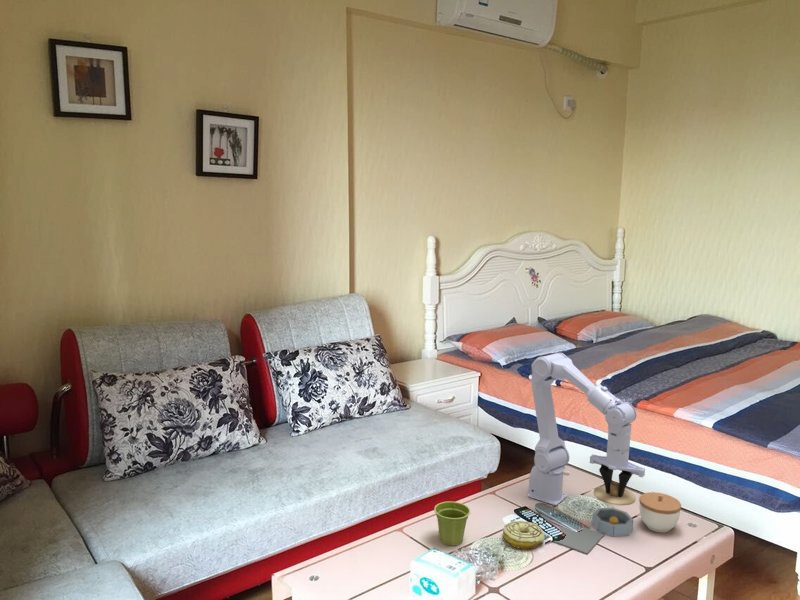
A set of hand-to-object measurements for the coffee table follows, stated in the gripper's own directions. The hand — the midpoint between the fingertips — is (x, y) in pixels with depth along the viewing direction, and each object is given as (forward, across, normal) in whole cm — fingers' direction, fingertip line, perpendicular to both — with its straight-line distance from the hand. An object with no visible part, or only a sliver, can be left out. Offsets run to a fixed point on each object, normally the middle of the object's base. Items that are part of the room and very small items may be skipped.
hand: (614, 493), depth 179 cm
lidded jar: (+10, +10, +8) cm, 16 cm away
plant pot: (+10, -31, -34) cm, 47 cm away
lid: (+1, 0, 0) cm, 1 cm away
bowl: (+10, 0, 0) cm, 10 cm away
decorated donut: (+10, -16, -22) cm, 29 cm away
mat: (+10, -6, -12) cm, 17 cm away
